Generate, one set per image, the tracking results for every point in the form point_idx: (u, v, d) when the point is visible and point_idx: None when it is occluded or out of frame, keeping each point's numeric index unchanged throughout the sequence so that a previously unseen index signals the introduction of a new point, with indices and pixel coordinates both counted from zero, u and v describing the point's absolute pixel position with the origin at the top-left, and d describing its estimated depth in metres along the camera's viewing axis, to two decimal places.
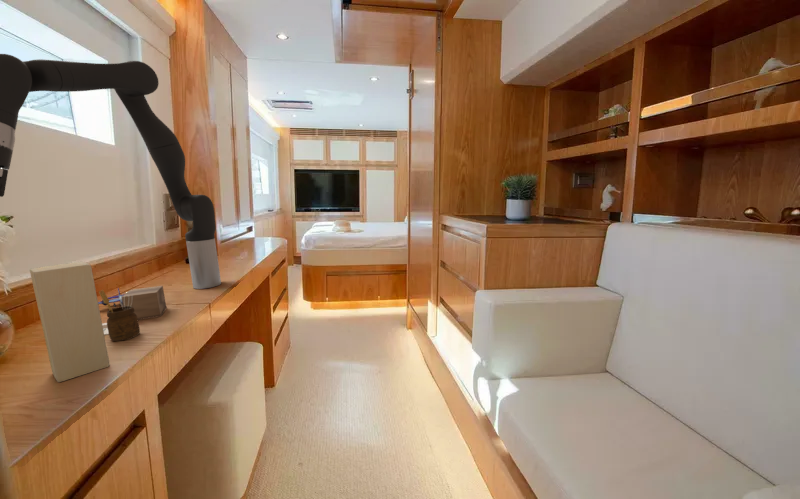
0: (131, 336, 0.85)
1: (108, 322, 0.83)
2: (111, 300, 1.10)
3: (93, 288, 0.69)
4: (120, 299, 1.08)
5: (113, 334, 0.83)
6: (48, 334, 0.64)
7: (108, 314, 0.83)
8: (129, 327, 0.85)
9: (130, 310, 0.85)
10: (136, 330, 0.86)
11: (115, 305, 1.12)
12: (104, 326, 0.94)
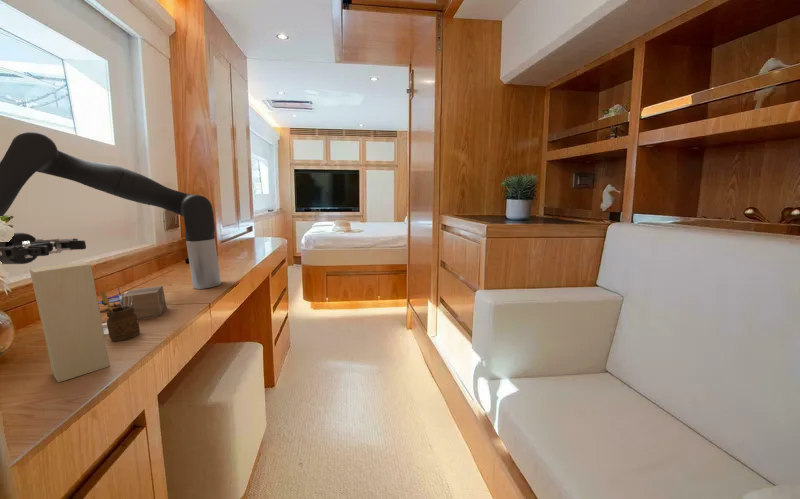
0: (131, 336, 0.85)
1: (108, 322, 0.83)
2: (111, 300, 1.10)
3: (93, 288, 0.69)
4: (120, 299, 1.08)
5: (113, 333, 0.83)
6: (48, 334, 0.64)
7: (108, 314, 0.83)
8: (129, 327, 0.85)
9: (130, 310, 0.85)
10: (136, 330, 0.86)
11: (115, 305, 1.12)
12: (104, 326, 0.94)
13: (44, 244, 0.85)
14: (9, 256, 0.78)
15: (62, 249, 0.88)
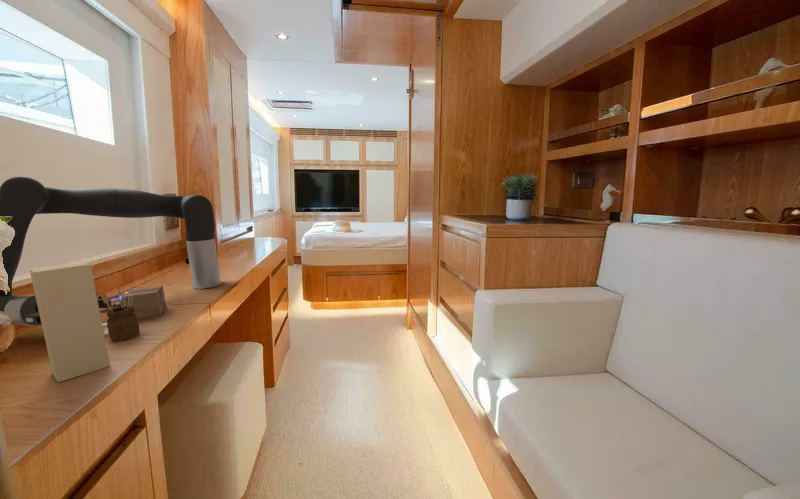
0: (131, 336, 0.85)
1: (108, 322, 0.83)
2: (111, 300, 1.10)
3: (93, 288, 0.69)
4: (120, 299, 1.08)
5: (113, 334, 0.83)
6: (48, 334, 0.64)
7: (108, 314, 0.83)
8: (129, 327, 0.85)
9: (130, 310, 0.85)
10: (136, 330, 0.86)
11: (115, 305, 1.12)
12: (104, 326, 0.94)
13: None
14: (40, 322, 0.81)
15: None
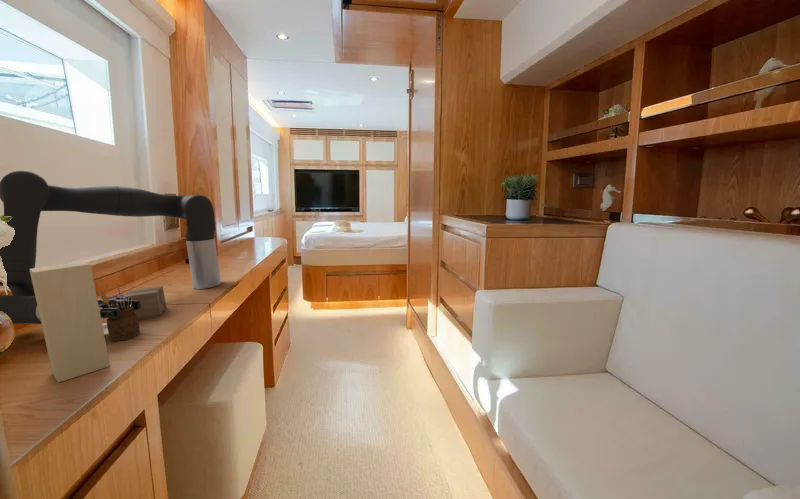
0: (131, 336, 0.85)
1: (108, 322, 0.83)
2: None
3: (93, 288, 0.69)
4: None
5: (113, 333, 0.83)
6: (48, 334, 0.64)
7: None
8: (129, 327, 0.85)
9: (130, 310, 0.85)
10: (136, 330, 0.86)
11: None
12: (104, 326, 0.94)
13: (104, 305, 0.86)
14: None
15: None
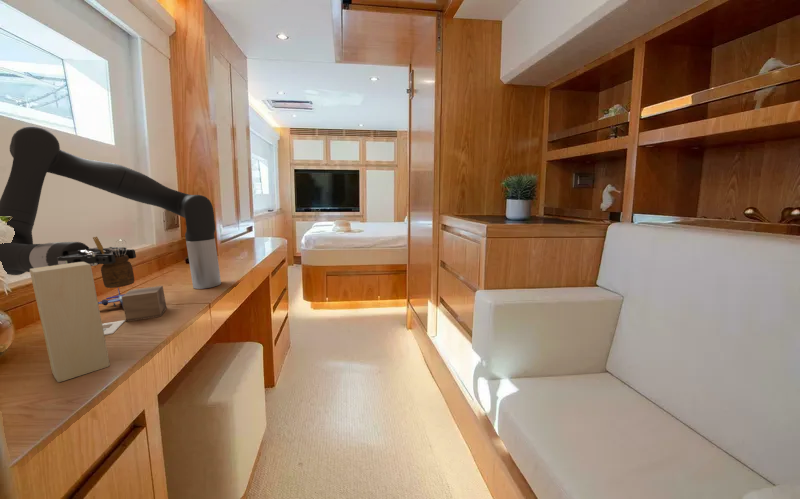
0: (126, 284, 0.85)
1: (102, 268, 0.83)
2: (111, 300, 1.10)
3: (93, 288, 0.69)
4: (120, 299, 1.08)
5: (107, 280, 0.83)
6: (48, 334, 0.64)
7: None
8: (123, 274, 0.84)
9: (124, 257, 0.85)
10: (131, 278, 0.86)
11: (115, 305, 1.12)
12: (104, 326, 0.94)
13: (98, 253, 0.86)
14: None
15: None
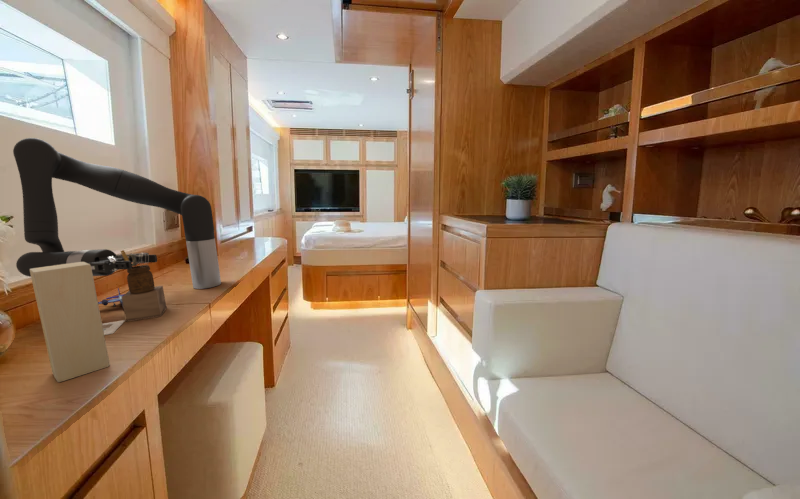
0: (147, 290, 1.00)
1: (128, 277, 0.98)
2: (111, 300, 1.10)
3: (93, 288, 0.69)
4: (120, 299, 1.08)
5: (132, 287, 0.98)
6: (48, 334, 0.64)
7: (128, 270, 0.98)
8: (146, 282, 0.99)
9: (147, 268, 1.00)
10: (152, 285, 1.01)
11: (115, 305, 1.12)
12: (104, 326, 0.94)
13: None
14: (101, 270, 0.94)
15: (137, 262, 1.04)
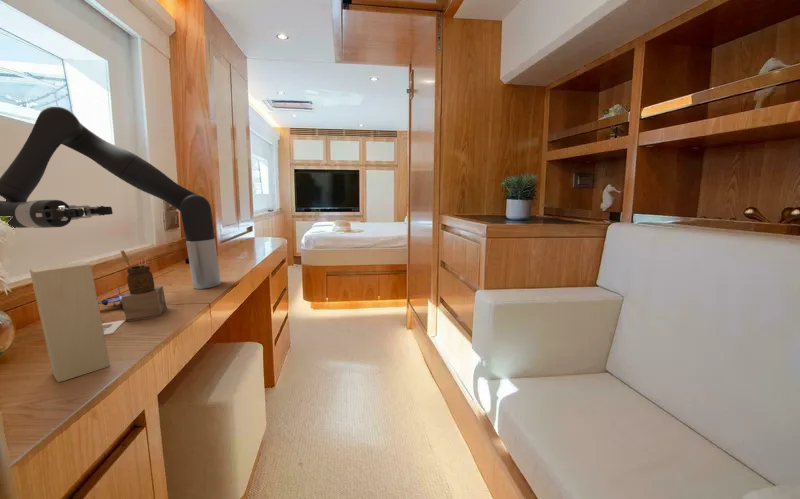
0: (147, 290, 1.00)
1: (128, 277, 0.98)
2: (111, 300, 1.10)
3: (93, 288, 0.69)
4: (120, 299, 1.08)
5: (132, 287, 0.98)
6: (48, 334, 0.64)
7: (128, 270, 0.98)
8: (146, 282, 0.99)
9: (147, 268, 1.00)
10: (152, 285, 1.01)
11: (115, 305, 1.12)
12: (104, 326, 0.94)
13: (76, 209, 0.97)
14: (48, 217, 0.90)
15: (92, 214, 1.00)
